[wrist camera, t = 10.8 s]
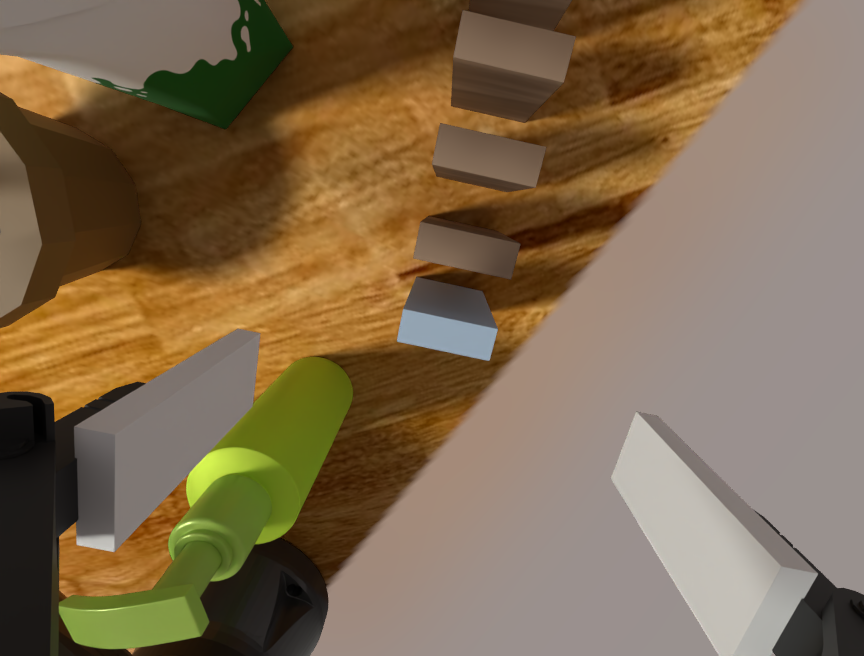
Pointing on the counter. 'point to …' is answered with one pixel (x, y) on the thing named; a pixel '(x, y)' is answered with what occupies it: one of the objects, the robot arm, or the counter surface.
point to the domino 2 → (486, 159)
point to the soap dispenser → (228, 509)
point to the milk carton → (154, 48)
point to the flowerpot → (57, 208)
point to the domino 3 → (466, 247)
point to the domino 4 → (448, 319)
